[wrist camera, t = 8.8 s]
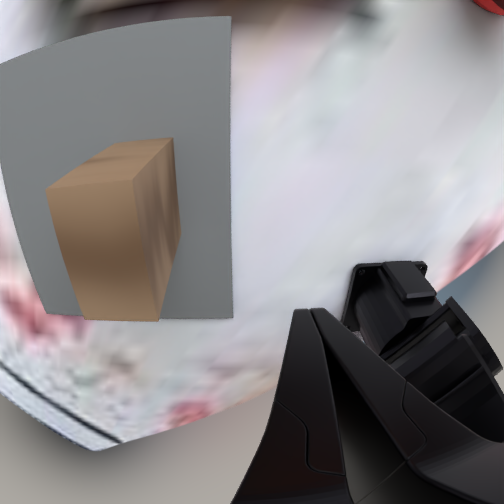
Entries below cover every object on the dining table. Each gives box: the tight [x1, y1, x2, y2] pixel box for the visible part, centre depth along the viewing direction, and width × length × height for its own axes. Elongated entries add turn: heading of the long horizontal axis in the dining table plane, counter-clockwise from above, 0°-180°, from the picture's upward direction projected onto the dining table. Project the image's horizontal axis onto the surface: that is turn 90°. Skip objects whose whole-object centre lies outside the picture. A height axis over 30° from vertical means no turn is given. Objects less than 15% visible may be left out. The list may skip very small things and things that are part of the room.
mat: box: [0, 16, 233, 319], centre depth 18 cm, size 20×16×1 cm
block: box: [45, 137, 181, 321], centre depth 14 cm, size 6×4×8 cm, turn 0°
